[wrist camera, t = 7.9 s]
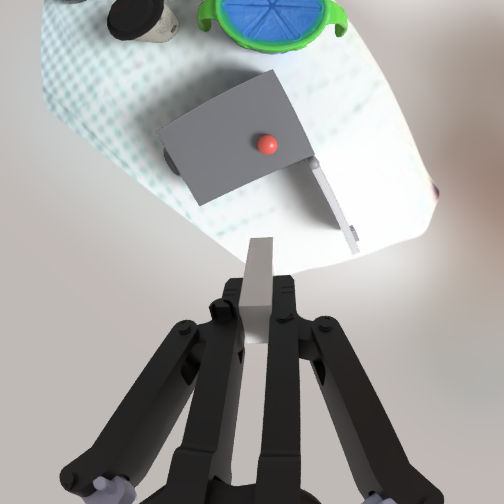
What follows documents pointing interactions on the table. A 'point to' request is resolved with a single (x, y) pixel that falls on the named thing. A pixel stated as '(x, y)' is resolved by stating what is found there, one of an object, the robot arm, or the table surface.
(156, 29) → the coffee cup
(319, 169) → the door
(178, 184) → the table surface
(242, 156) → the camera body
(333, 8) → the snack cup
